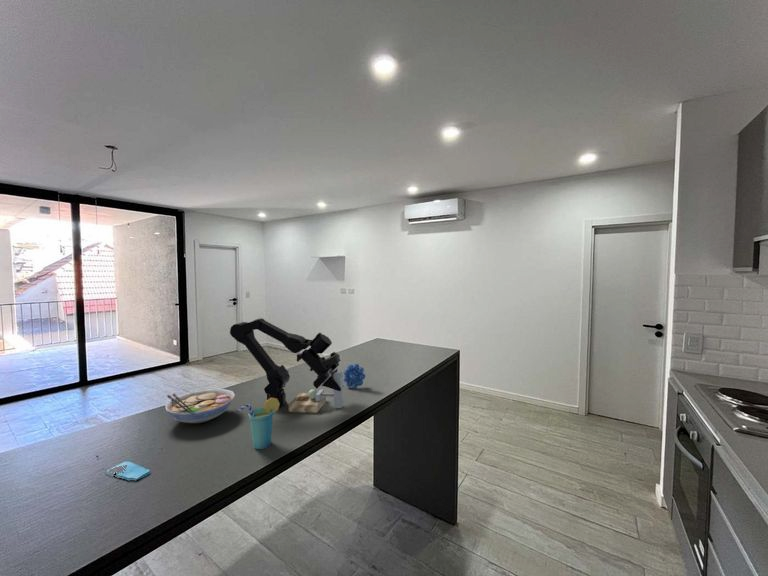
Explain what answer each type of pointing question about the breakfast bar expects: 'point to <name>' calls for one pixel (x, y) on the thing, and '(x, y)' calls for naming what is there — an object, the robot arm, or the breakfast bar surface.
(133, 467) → the sponge
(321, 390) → the pull handle
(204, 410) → the ramen bowl
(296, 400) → the board
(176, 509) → the breakfast bar surface
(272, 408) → the cup
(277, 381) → the robot arm
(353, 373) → the grapes
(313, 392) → the ball
